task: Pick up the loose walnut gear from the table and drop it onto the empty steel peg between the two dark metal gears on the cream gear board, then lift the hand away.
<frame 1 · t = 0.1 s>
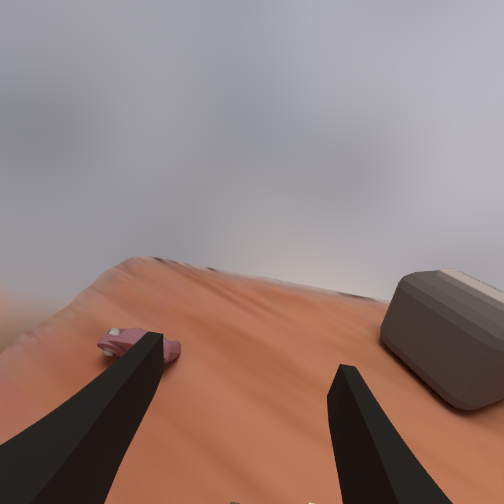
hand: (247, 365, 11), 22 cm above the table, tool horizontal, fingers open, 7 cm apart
alarm clock: (430, 369, 44), on the table
pink irregular piece: (141, 360, 38), on the table
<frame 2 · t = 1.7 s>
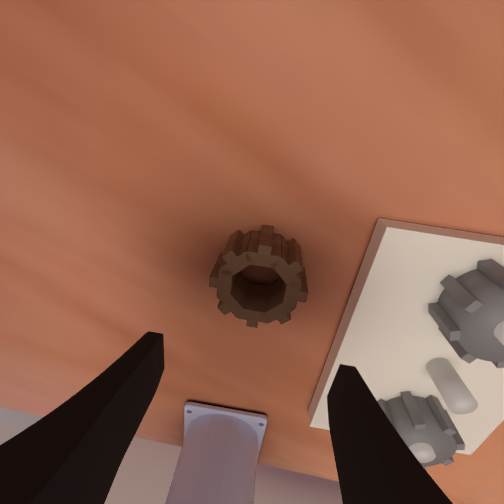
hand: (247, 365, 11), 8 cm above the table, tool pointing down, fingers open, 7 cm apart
walnut gear: (261, 264, 19), on the table
gear board: (427, 349, 20), on the table
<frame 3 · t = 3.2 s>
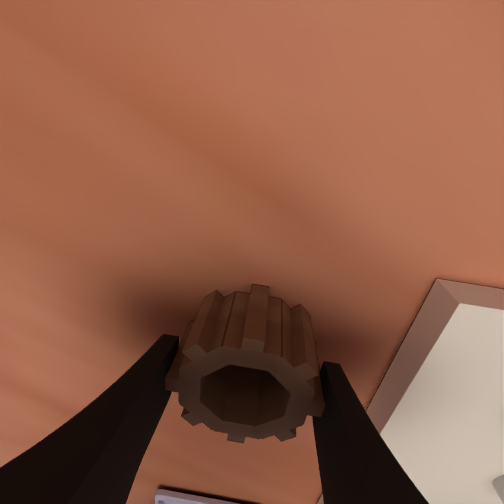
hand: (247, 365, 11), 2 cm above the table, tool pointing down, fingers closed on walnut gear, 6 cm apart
walnut gear: (251, 337, 12), on the table, touching gripper
gear board: (489, 448, 14), on the table
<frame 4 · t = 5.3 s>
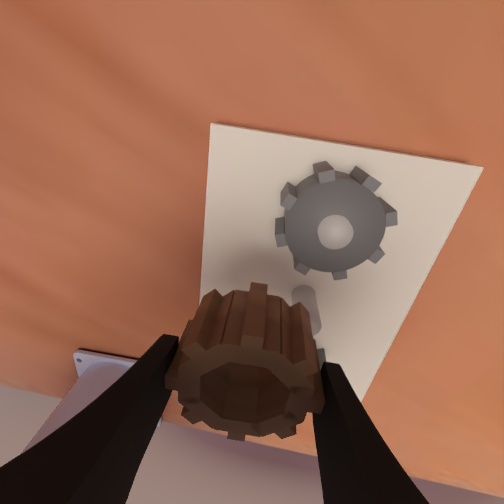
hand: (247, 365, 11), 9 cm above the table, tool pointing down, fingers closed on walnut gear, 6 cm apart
walnut gear: (250, 335, 12), point 7 cm above the table, touching gripper
gear board: (301, 282, 19), on the table
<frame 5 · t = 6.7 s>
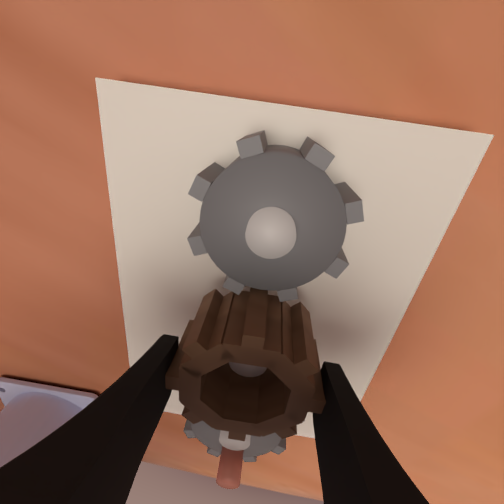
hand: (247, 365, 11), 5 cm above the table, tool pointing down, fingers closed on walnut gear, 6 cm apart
walnut gear: (251, 335, 12), point 3 cm above the table, touching gripper
gear board: (256, 297, 15), on the table
when the fingers open (5 cm above the table, at t = 7.6 s): walnut gear drops 1 cm, resting on gear board.
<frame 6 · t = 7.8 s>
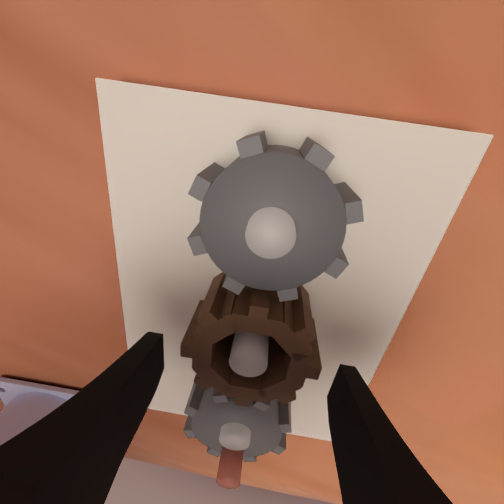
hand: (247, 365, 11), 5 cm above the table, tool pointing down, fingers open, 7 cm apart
walnut gear: (255, 314, 14), point 1 cm above the table, touching gear board
gear board: (256, 297, 15), on the table
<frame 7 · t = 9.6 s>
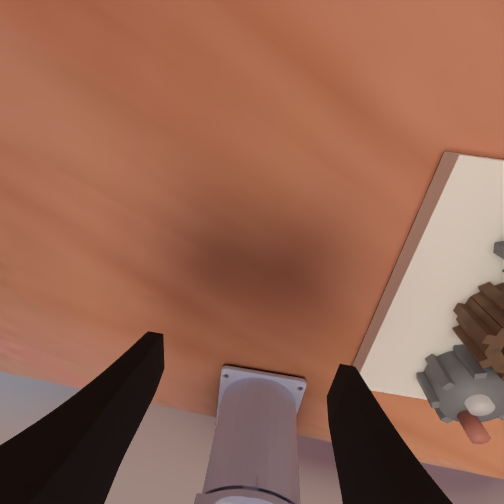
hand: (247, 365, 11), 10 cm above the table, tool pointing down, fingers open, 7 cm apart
walnut gear: (498, 313, 18), point 1 cm above the table, touching gear board
gear board: (482, 301, 20), on the table
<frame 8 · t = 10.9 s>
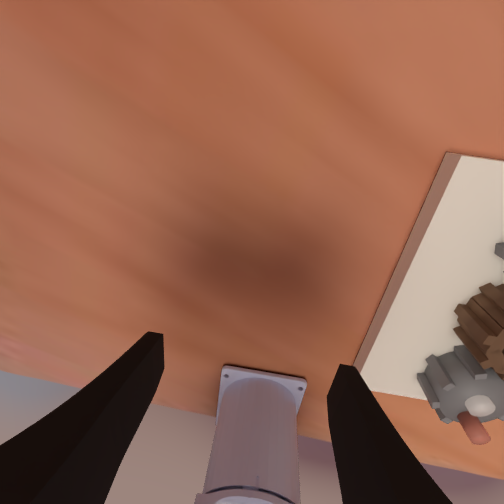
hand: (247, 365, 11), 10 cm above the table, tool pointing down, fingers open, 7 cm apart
walnut gear: (498, 314, 18), point 1 cm above the table, touching gear board
gear board: (482, 301, 20), on the table
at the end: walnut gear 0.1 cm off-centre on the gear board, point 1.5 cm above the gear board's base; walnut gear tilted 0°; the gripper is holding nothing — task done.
